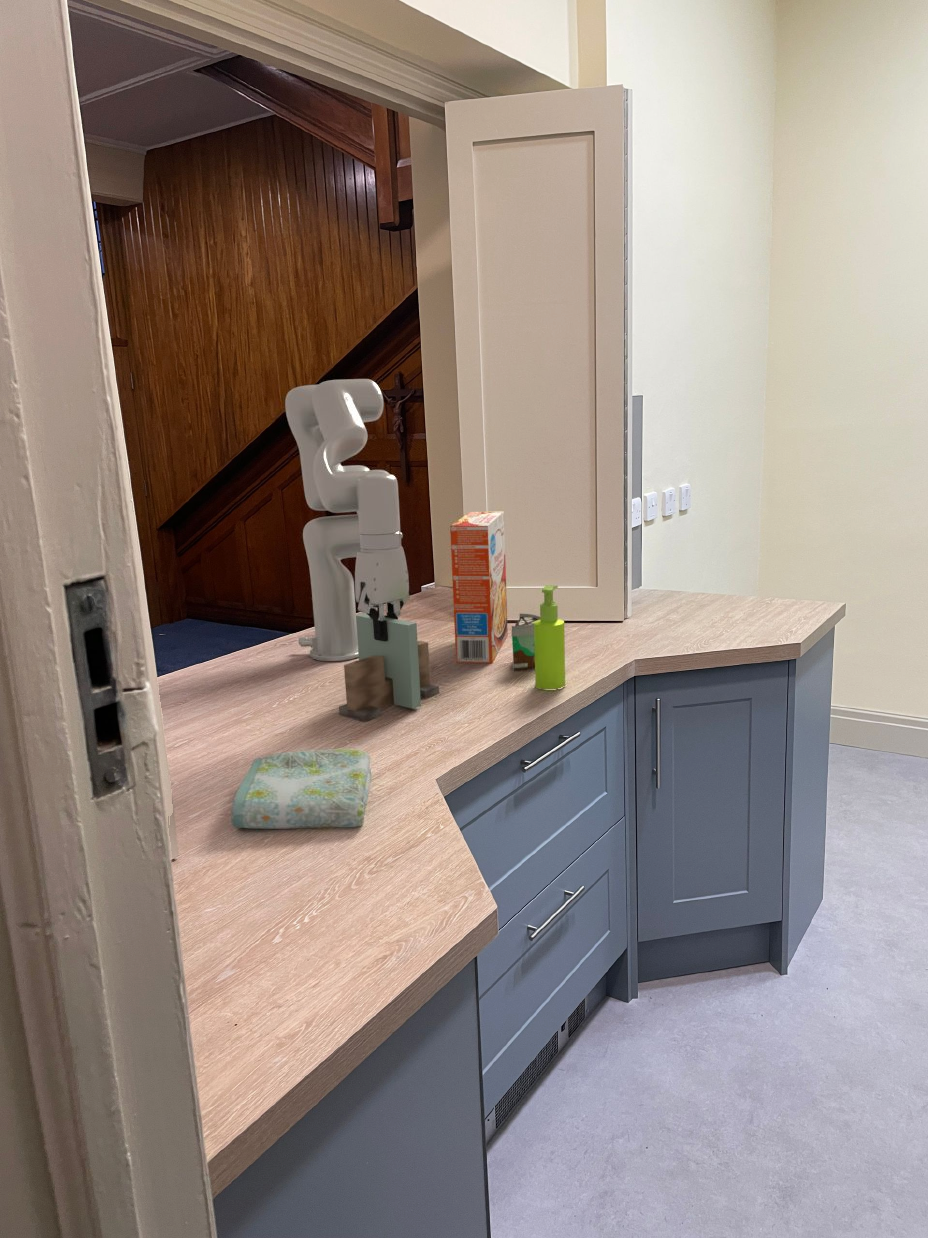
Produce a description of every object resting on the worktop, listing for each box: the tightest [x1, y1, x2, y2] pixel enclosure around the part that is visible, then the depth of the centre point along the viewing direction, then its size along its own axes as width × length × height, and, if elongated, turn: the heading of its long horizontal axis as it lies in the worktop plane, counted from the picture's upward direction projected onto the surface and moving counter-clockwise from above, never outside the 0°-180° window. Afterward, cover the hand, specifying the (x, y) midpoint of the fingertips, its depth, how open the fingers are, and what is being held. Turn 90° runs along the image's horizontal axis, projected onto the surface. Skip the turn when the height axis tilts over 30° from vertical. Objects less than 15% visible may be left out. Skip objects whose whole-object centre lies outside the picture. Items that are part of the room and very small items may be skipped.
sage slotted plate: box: [356, 613, 422, 710], centre depth 178 cm, size 2×14×16 cm, turn 49°
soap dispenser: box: [534, 584, 566, 690], centre depth 185 cm, size 6×7×20 cm
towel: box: [231, 748, 372, 830], centre depth 138 cm, size 18×21×5 cm
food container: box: [511, 612, 540, 672], centre depth 201 cm, size 12×6×10 cm, turn 168°
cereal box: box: [449, 511, 509, 664], centre depth 212 cm, size 23×8×30 cm, turn 169°
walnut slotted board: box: [338, 640, 440, 723], centre depth 179 cm, size 20×7×10 cm, turn 139°
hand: (386, 637), depth 177 cm, fingers closed on sage slotted plate, 2 cm apart
